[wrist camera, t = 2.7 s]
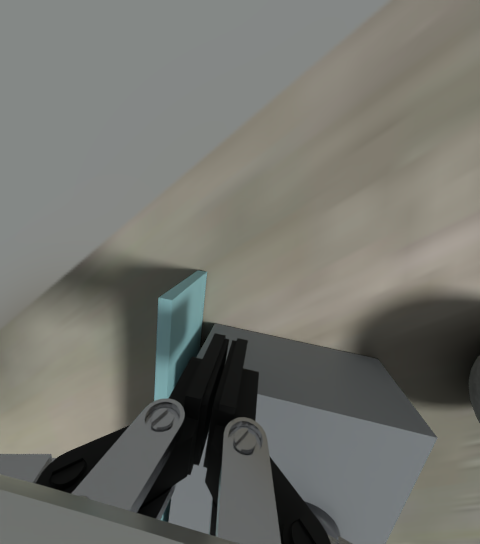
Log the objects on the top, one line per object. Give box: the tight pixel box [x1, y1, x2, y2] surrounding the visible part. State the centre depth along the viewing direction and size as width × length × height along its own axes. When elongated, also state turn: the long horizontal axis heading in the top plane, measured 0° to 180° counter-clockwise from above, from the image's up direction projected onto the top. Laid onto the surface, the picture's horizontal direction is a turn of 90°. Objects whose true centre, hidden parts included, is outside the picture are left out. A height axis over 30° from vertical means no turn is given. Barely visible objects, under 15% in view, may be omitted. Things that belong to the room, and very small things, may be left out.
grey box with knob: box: [168, 323, 437, 544], centre depth 18 cm, size 20×14×9 cm
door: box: [154, 270, 207, 522], centre depth 19 cm, size 26×1×7 cm, turn 173°
